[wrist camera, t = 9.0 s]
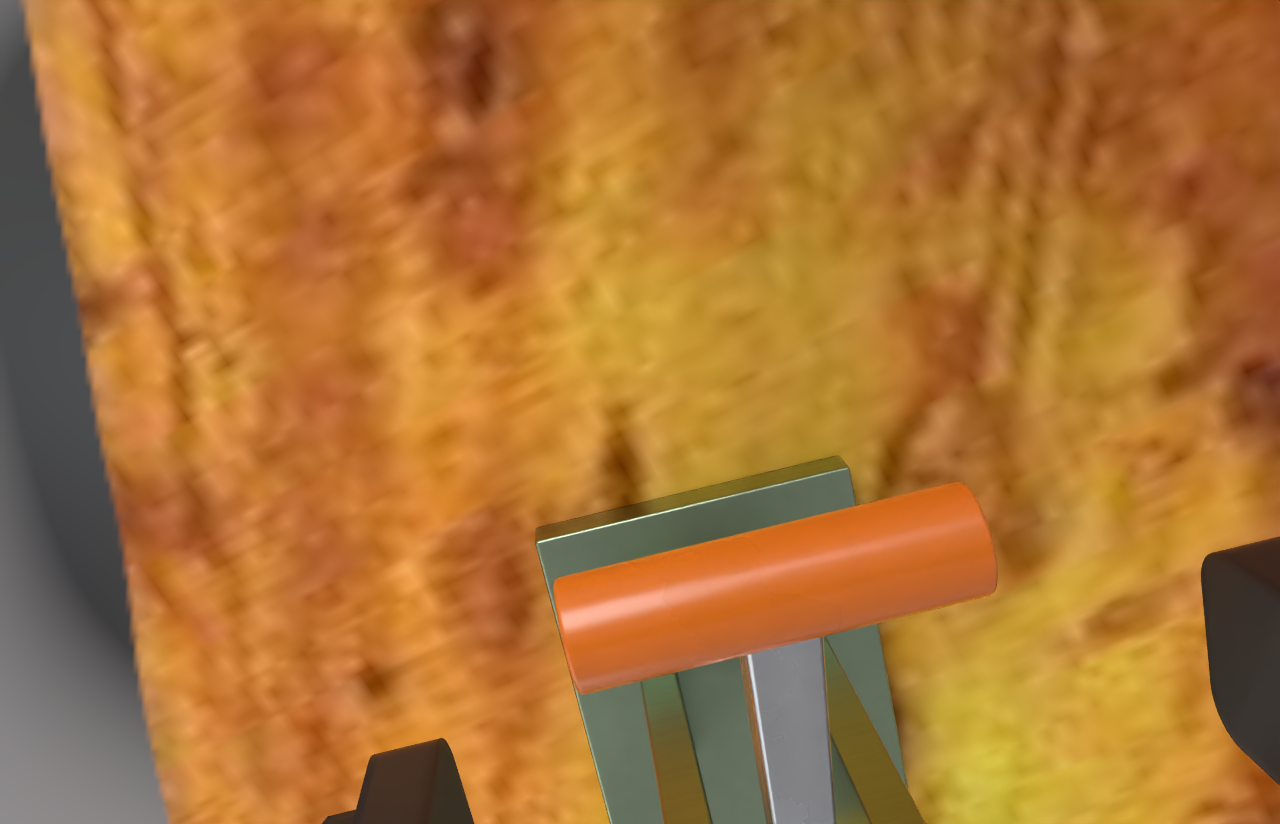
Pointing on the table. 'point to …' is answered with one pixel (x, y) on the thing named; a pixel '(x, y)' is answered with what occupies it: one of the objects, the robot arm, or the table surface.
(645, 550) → the bracket
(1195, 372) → the table surface
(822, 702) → the lever
